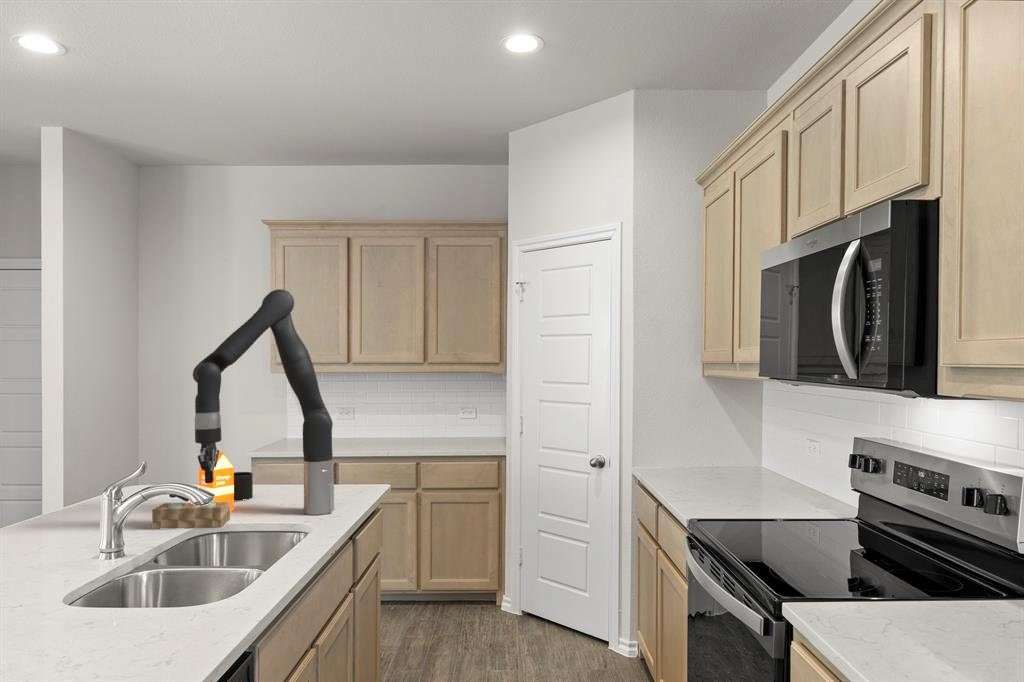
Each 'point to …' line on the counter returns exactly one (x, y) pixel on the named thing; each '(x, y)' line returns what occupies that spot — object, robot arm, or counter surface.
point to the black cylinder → (243, 485)
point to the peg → (174, 505)
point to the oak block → (190, 516)
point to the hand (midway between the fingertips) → (209, 482)
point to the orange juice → (220, 481)
